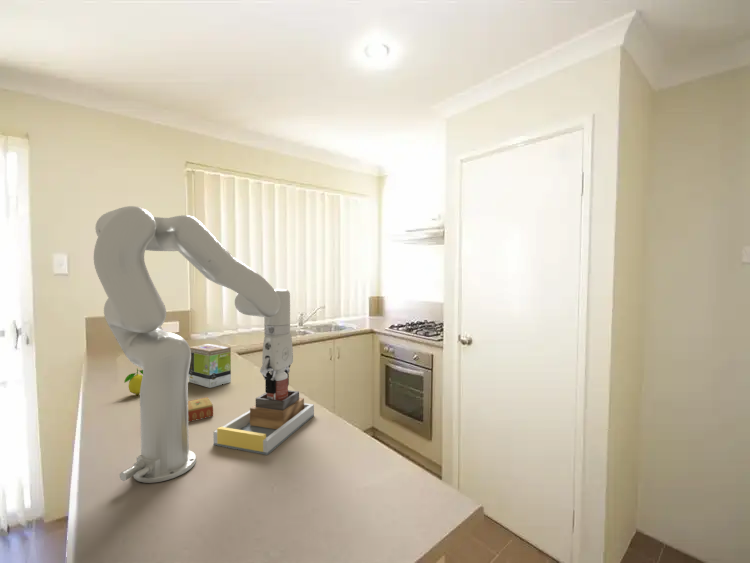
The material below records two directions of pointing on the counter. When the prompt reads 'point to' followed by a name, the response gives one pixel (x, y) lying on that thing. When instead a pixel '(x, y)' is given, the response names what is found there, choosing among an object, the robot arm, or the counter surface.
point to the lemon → (134, 382)
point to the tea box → (210, 365)
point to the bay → (259, 432)
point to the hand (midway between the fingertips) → (277, 388)
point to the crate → (275, 410)
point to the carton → (199, 409)
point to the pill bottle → (280, 385)
